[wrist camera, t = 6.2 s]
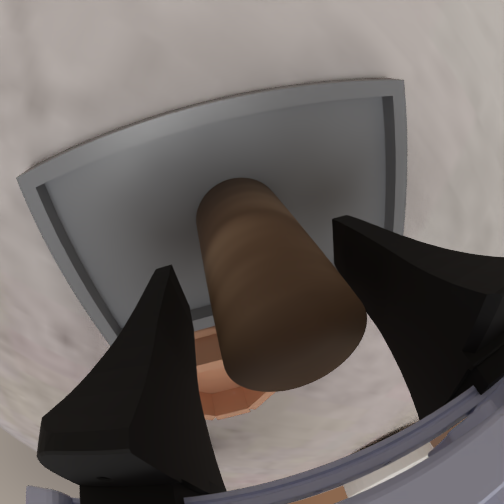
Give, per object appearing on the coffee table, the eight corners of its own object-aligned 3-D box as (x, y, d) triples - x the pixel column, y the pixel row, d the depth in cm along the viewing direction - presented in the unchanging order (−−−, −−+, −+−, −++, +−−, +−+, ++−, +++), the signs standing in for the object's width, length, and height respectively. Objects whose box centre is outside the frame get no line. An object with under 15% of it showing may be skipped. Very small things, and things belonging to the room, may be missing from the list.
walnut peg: (206, 263, 15) (238, 404, 8) (187, 189, 13) (205, 316, 6) (283, 243, 15) (358, 365, 9) (274, 169, 13) (374, 267, 7)
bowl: (320, 466, 44) (334, 502, 37) (413, 413, 42) (434, 449, 35) (350, 469, 55) (362, 496, 48) (422, 428, 52) (437, 454, 45)
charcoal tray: (116, 332, 17) (114, 350, 16) (29, 167, 11) (16, 177, 10) (387, 252, 18) (399, 265, 17) (385, 78, 12) (403, 79, 11)
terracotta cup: (181, 404, 22) (184, 429, 20) (136, 343, 18) (134, 374, 16) (278, 379, 23) (287, 403, 21) (262, 309, 18) (273, 338, 16)
